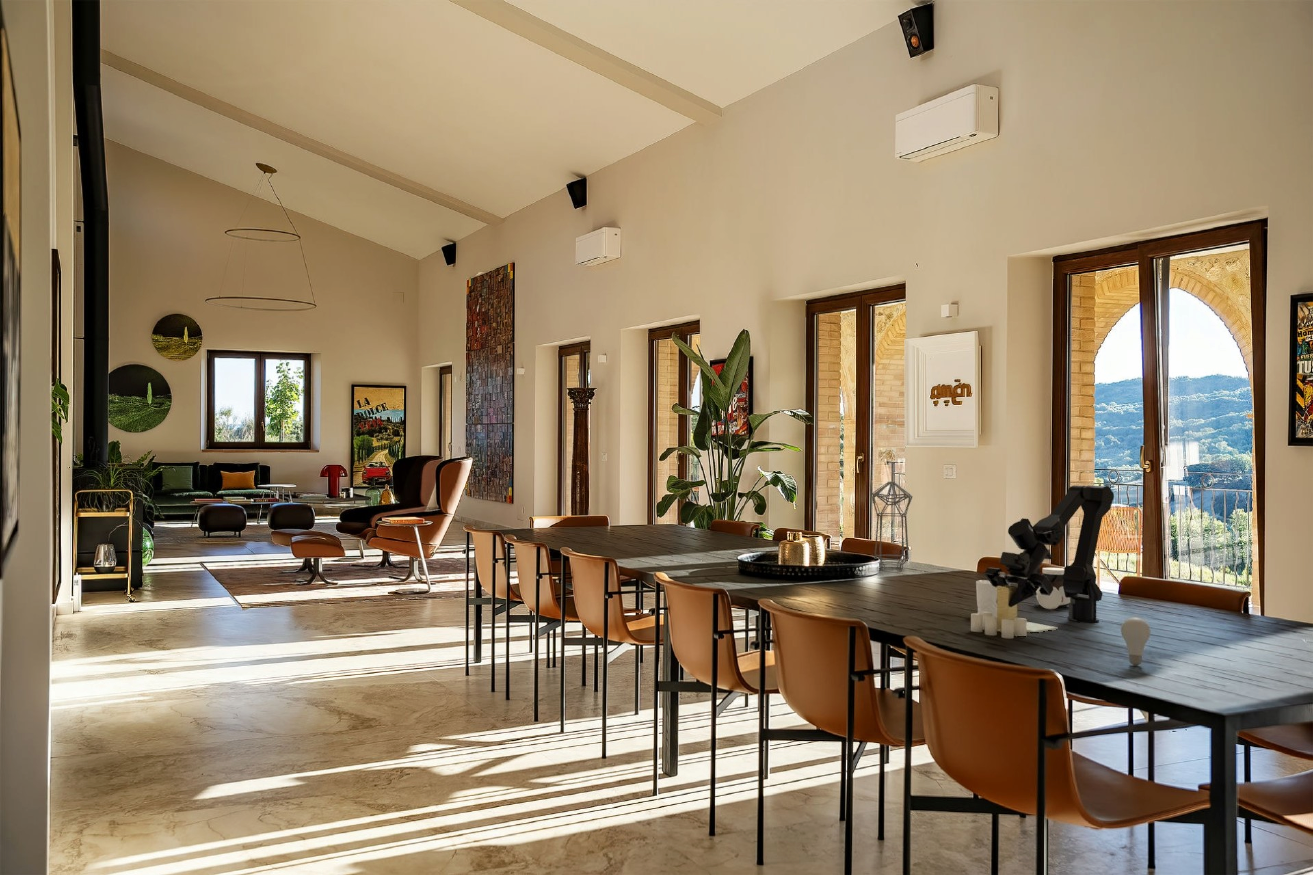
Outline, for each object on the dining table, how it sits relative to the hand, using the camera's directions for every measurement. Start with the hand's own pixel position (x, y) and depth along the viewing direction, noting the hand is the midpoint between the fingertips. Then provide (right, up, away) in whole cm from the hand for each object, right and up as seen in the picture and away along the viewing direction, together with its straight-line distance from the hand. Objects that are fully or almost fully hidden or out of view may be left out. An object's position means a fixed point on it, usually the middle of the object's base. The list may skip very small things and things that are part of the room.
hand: (1003, 604), depth 270 cm
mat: (+9, -7, +6) cm, 13 cm away
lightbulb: (+16, -8, -39) cm, 43 cm away
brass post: (+1, -7, +1) cm, 7 cm away
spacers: (-2, -7, -1) cm, 8 cm away
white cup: (+5, -8, +25) cm, 26 cm away
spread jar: (+30, -8, +41) cm, 52 cm away
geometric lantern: (0, -8, +131) cm, 131 cm away
